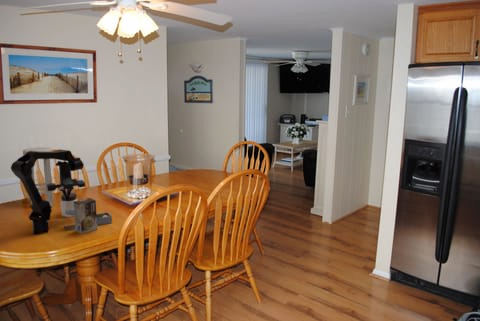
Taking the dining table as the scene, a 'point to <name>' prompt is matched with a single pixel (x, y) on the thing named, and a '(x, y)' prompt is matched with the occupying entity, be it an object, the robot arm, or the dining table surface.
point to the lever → (70, 212)
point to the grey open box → (103, 219)
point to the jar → (68, 204)
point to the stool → (46, 171)
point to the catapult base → (70, 227)
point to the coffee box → (85, 215)
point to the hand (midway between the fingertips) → (67, 200)
